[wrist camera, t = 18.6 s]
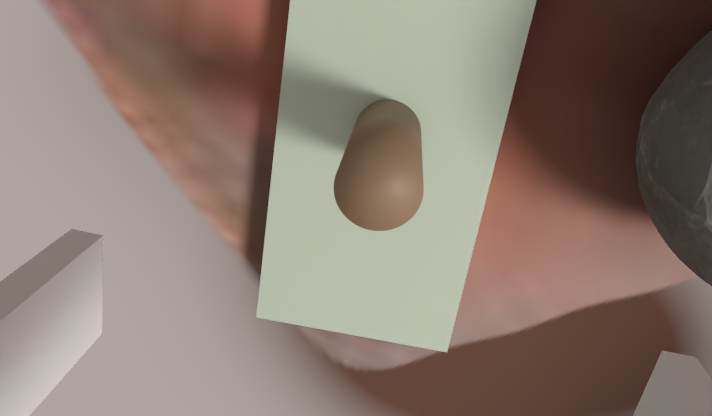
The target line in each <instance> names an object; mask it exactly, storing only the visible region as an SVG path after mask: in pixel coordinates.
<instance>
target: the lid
mask: <svg viewBox="0 0 712 416" xmlns="http://www.w3.org/2000/svg"><path fill="white" fill-rule="evenodd" d="M536 1H537V0H290V6H289V15H288V25H287V34H286V43H285V53H284V62H283V72H282V81H281V90H280V100H279V109H278V118H277V128H276V137H275V146H274V156H273V165H272V174H271V184H270V193H269V203H268V212H267V221H266V231H265V240H264V249H263V259H262V268H261V277H260V287H259V297H258V305H257V315H256V317H257V318H263V319H268V320H274V321H279V322H285V323H290V324H295V325H301V326H306V327H312V328H317V329H323V330H328V331H334V332H339V333H345V334H350V335H356V336H361V337H366V338H372V339H377V340H383V341H388V342H394V343H399V344H405V345H410V346H416V347H421V348H427V349H432V350H437V351H443V352H447V350H448V346H449V343H450V339H451V335H452V331H453V327H454V323H455V319H456V315H457V311H458V307H459V303H460V299H461V295H462V291H463V288H464V284H465V280H466V276H467V272H468V268H469V264H470V260H471V256H472V252H473V248H474V244H475V240H476V236H477V233H478V229H479V225H480V221H481V217H482V213H483V209H484V205H485V201H486V197H487V193H488V189H489V185H490V182H491V178H492V174H493V170H494V166H495V162H496V158H497V154H498V150H499V146H500V142H501V138H502V134H503V130H504V127H505V123H506V119H507V115H508V111H509V107H510V103H511V99H512V95H513V91H514V87H515V83H516V79H517V75H518V72H519V68H520V64H521V60H522V56H523V52H524V48H525V44H526V40H527V36H528V32H529V28H530V24H531V21H532V17H533V13H534V9H535V5H536Z"/></svg>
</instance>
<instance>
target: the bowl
mask: <svg viewBox="0 0 712 416" xmlns="http://www.w3.org/2000/svg"><path fill="white" fill-rule="evenodd" d="M636 169H637V179H638V184H639V188H640V192H641V195H642V198H643V201H644V204H645V207H646V209H647V211H648V213H649V215H650V217H651V219H652V221H653V223H654V225H655V227H656V228H657V230H658V232H659V233H660V235H661V236H662V238H663V239H664V241H665V242H666V243H667V245H668V246H669V247H670V249H671V250H672V251H673V252H674V253H675V254H676V256H677V257H678V258H679V259H680V260H681V261H682V262H683V263H684V264H685V265H686V266H688V267H689V268H690V269H691V270H692V271H693V272H694V273H695V274H696V275H697V276H699V277H700V278H701V279H702V280H704V281H705V282H706V283H708V284H710V285H711V286H712V30H711V31H710V32H709V33H707V34H706V35H705V36H704V37H703V38H701V39H700V40H699V41H698V42H697V43H696V44H695V45H694V46H693V47H692V48H691V49H690V50H689V51H688V52H687V53H686V55H685V56H684V57H683V58H682V59H681V60H680V61H679V62H678V63H677V64H676V65H675V66H674V67H673V68H672V70H671V71H670V72H669V73H668V74H667V76H666V77H665V79H664V80H663V82H662V83H661V85H660V86H659V87H658V89H657V90H656V91H655V93H654V94H653V95H652V96H651V98H650V100H649V102H648V104H647V106H646V108H645V110H644V113H643V116H642V118H641V121H640V127H639V132H638V138H637V145H636Z"/></svg>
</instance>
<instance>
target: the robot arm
mask: <svg viewBox="0 0 712 416" xmlns="http://www.w3.org/2000/svg"><path fill="white" fill-rule="evenodd" d="M102 279H103V236H102V235H98V234H93V233H88V232H83V231H78V230H73V229H71V230H70V231H68V232H67V233H66V234H64V235H63V236H62V237H60V238H59V239H57V240H56V241H55V242H53V243H52V244H51V245H49V246H48V247H47V248H45V249H44V250H43V251H41V252H40V253H38V254H37V255H36V256H34V257H33V258H32V259H30V260H29V261H28V262H26V263H25V264H24V265H22V266H21V267H20V268H18V269H17V270H15V271H14V272H13V273H11V274H10V275H9V276H7V277H6V278H5V279H3V280H2V281H1V282H0V416H29V415H30V414H31V413H32V412H33V411H34V410H35V409H36V408H37V406H38V405H39V404H40V403H41V402H42V401H43V400H44V398H45V397H46V396H47V395H48V394H49V393H50V392H51V391H52V389H53V388H54V387H55V386H56V385H57V384H58V383H59V381H60V380H61V379H62V378H63V377H64V376H65V375H66V374H67V372H68V371H69V370H70V369H71V368H72V367H73V366H74V365H75V363H76V362H77V361H78V360H79V359H80V358H81V357H82V355H83V354H84V353H85V352H86V351H87V350H88V349H89V348H90V346H91V345H92V344H93V343H94V342H95V341H96V340H97V338H98V337H99V336H100V335H101V334H102V282H103V281H102ZM634 416H712V380H711V378H710V377H709V375H708V374H707V373H706V371H705V370H704V368H703V367H702V365H701V364H700V363H699V361H698V360H697V358H695V357H691V356H686V355H682V354H676V353H671V352H667V351H662V352H661V355H660V357H659V359H658V361H657V364H656V366H655V368H654V370H653V373H652V375H651V377H650V380H649V382H648V384H647V386H646V388H645V391H644V393H643V395H642V398H641V400H640V402H639V404H638V406H637V409H636V411H635V413H634Z"/></svg>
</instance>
